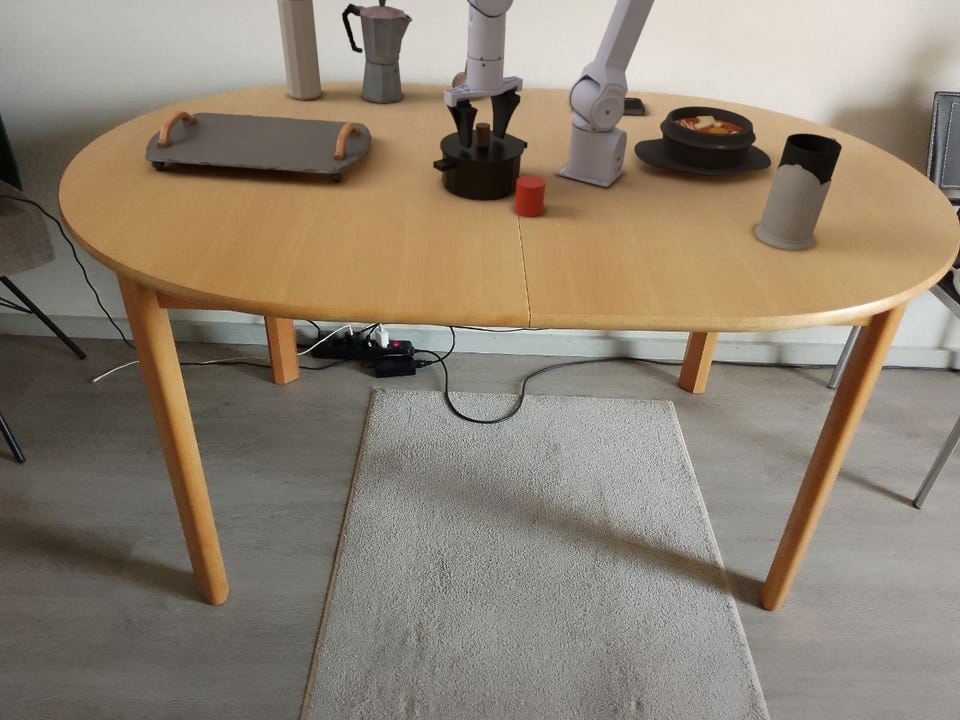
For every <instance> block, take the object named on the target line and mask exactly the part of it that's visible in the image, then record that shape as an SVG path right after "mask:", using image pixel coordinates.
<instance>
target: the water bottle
mask: <svg viewBox="0 0 960 720" xmlns="http://www.w3.org/2000/svg"><path fill="white" fill-rule="evenodd" d="M276 2H277V10H278V11H277V12H278V18H279V27H280V35H281V43H282V52H283V60H284V68H285V76H286V85H287V90H288V96H289V97H291V98H293V99H295V100H298V101H299V100H300V101H310V100H314V99H317V98H318V97H320V96H321V95H322V87H321V86H322V85H321V76H320V75H321V74H320V66H319V65H320V64H319V53H318V43H317V34H316V33H317V32H316V23H315V12H314V11H315V10H314V1H313V0H276Z"/></svg>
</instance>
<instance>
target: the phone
mask: <svg viewBox="0 0 960 720" xmlns="http://www.w3.org/2000/svg"><path fill="white" fill-rule="evenodd" d="M645 111H646V107H645V105H644V103H643V100H642V99H641V98H638V97H625V100H624V113H623V115H633V116H644V115H645Z"/></svg>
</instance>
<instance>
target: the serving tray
mask: <svg viewBox="0 0 960 720" xmlns="http://www.w3.org/2000/svg"><path fill="white" fill-rule="evenodd" d="M372 138H373V136H372V134H371V132H370V130H369V128H368V126H366V125H365V124H364V123H360V122H352V121H351V122H349V121H333V120H325V119H324V120H323V119H302V118H293V117H282V116H264V115H263V116H262V115H261V116H260V115H252V114H233V113H229V114H227V113H216V112H198V113H193V114H189V112H187V111H184V110H177V111H175V112H172V113H171V114H170V115H169V116H167V118H165V120H164V121H163V123H162V125H161V128H160V129H159V131H157V132H156V133H155V134H153V135H152V137H151V138H150V139H149V141H148V143H147V146H146V147H145V155H144V158H145V160H146V161H147V162H150V164H151V166H152V167H153V169H154V170H155V171H163V170H165V169H164V168H165V166H166V163H173V164H188V165H189V164H190V165H200V166H213V167H214V166H215V167H217V166H218V167H230V168H240V169H242V168H244V169H255V170H256V169H257V170H271V171H272V170H273V171H287V172H300V173H301V172H302V173H313V174H316V173H317V174H328V175H329V176H328V177H329V179H330V181H331V182H332V183H333V184H339V183H341V181H342V179H343V174H342V172H344V171H346V170H348V169H351V168H352V166H354V165H356V164H357V163H359V162H360V161H361V160H362V158H363V157H365V155H366V154H367V153H368V152H369V151H370V150H371V147H372Z"/></svg>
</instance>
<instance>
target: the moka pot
mask: <svg viewBox="0 0 960 720" xmlns="http://www.w3.org/2000/svg"><path fill="white" fill-rule="evenodd" d="M386 3H387V0H378V5H372V6H368V7H367V6H362V5H355V4H353V3H348V5H347V6H346V8H345V9H344V11H343V12H342V13H341V18H342V23H343V25H344V29H345V31H346V34H347V38H348V42H349V43H350V48H351V51H353V52H355V53H357V54H362V53H363V52H364V57H365V64H364V71H363V82H362V91H361V97H362V98H364V99H365V100H366V101H369V102H372V103H378V104H391V103H396V102H399V101H400V100H401V99H402V98H403V92H402V82H401V73H400V61H399V60H400V53H401V50H402V42H403V38H404V37H405V35H406V33H407V30H408V27H409V26H410V23H411V22H413V18H412V17H411V16H410V15H409V14H407V13H405V11H404V10H403V9H399V8H395V7H393V6H389V5H386ZM350 14H353V15H354V16H356V17H359V18H360V25H361V34H362V42H363V48H362V47H358V46H357V43H356V41H355V39H354V34H353V30H352V27H351V24H350V20H349V17H348V16H349V15H350Z"/></svg>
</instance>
